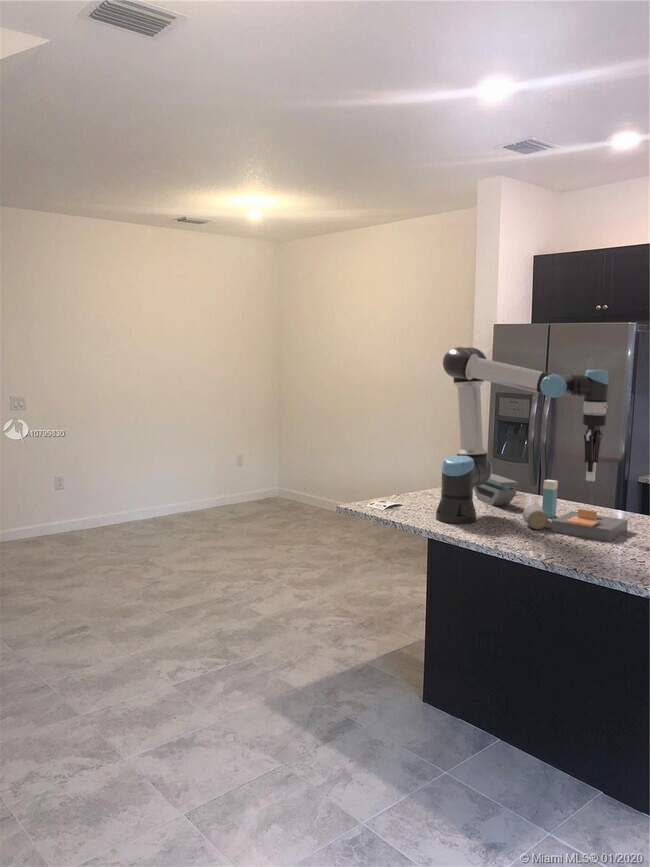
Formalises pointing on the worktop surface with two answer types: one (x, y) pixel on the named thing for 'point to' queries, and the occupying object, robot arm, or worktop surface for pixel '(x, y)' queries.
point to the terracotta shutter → (585, 518)
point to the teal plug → (550, 497)
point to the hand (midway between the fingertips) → (590, 480)
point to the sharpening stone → (496, 490)
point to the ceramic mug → (536, 517)
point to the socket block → (600, 531)
